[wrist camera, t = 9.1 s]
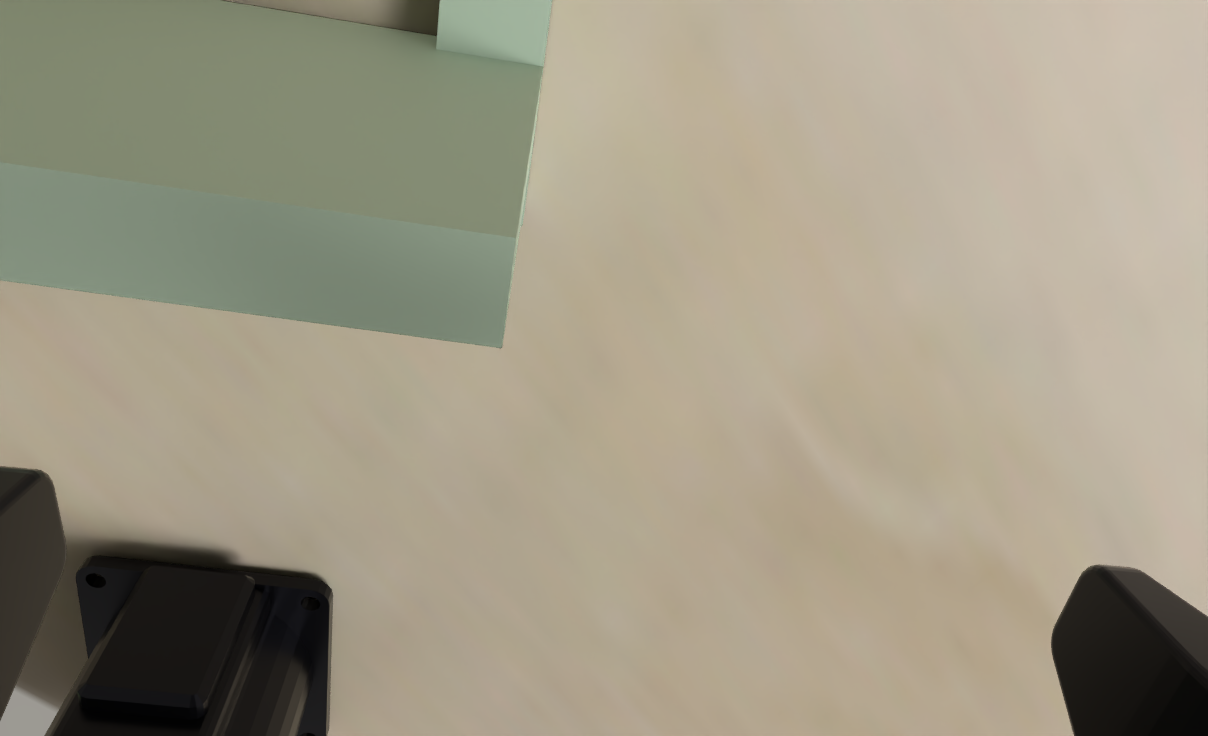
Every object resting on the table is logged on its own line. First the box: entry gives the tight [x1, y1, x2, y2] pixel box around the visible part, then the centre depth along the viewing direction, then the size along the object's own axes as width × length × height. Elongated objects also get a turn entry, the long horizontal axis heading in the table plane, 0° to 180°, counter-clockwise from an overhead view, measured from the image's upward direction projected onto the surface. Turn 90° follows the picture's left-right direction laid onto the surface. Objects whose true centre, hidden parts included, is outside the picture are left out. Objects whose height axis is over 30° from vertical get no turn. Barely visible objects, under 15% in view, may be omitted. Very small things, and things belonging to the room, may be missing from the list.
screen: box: [0, 0, 552, 348], centre depth 15 cm, size 5×14×9 cm, turn 81°
